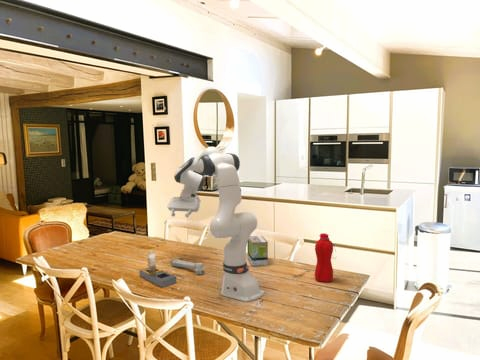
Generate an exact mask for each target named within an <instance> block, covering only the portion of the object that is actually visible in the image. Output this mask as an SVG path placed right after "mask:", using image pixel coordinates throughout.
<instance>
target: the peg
mask: <svg viewBox="0 0 480 360" xmlns="http://www.w3.org/2000/svg"><path fill="white" fill-rule="evenodd" d="M147 266H148V267H147V268H148V271H149V273H152V272H155V271H156V267H157V265H156V251H148V252H147Z"/></svg>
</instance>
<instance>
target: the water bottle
mask: <svg viewBox="0 0 480 360" xmlns="http://www.w3.org/2000/svg"><path fill="white" fill-rule="evenodd" d="M318 236H319V239H318V240H317V241H316V243H315V245H314V251H315V256H316V265H315V270H314V279H315V281H318V282H323V283H330V282H332V281H333V278H334V269H333V265H332V257H333V253H334V251H335V252H337V251H336V249H335V250H334V243H333V242H332V240H330V238H329V234H328V233H325V232H324V233H320V234H319V235H318ZM334 259H335V260H336V259H337V257H335V258H334Z"/></svg>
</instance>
